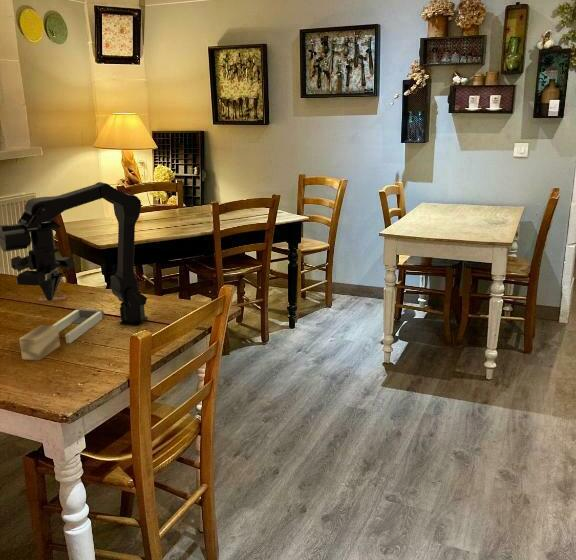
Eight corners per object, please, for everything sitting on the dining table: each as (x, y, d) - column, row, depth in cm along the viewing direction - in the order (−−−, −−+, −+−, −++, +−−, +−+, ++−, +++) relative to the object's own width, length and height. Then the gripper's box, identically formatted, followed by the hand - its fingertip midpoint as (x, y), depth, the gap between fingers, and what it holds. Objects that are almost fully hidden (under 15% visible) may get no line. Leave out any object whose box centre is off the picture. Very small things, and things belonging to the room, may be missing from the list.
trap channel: (104, 317, 185) (103, 310, 184) (70, 343, 166) (69, 335, 165) (78, 316, 186) (77, 308, 185) (41, 340, 167) (40, 332, 166)
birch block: (60, 345, 164) (57, 326, 163) (39, 360, 155) (36, 340, 153) (44, 344, 165) (41, 324, 163) (22, 359, 156) (19, 338, 154)
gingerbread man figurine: (67, 297, 204) (63, 264, 200) (66, 300, 200) (62, 267, 197) (40, 299, 202) (35, 265, 198) (38, 302, 198) (33, 268, 195)
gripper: (36, 236, 168) (42, 288, 173) (-6, 252, 151) (2, 309, 155) (72, 238, 166) (77, 290, 171) (33, 254, 149) (40, 312, 153)
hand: (50, 300), depth 163 cm, fingers closed
